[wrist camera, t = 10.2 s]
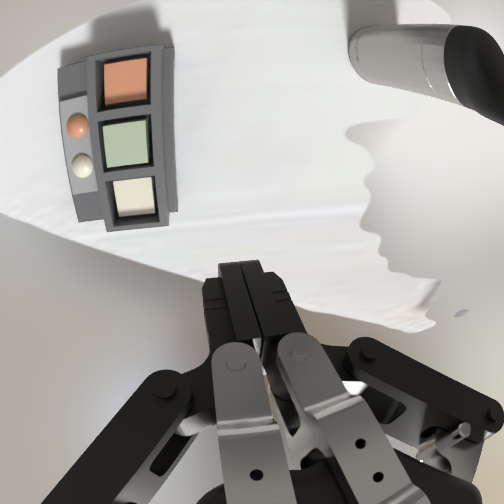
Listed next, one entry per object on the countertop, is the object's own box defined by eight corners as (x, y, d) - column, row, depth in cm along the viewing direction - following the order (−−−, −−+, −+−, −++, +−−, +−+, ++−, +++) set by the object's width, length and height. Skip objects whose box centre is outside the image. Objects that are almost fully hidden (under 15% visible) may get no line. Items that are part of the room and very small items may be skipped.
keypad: (174, 49, 25) (172, 43, 20) (178, 203, 37) (177, 225, 32) (65, 68, 22) (44, 69, 17) (83, 213, 34) (71, 236, 29)
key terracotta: (149, 59, 23) (146, 58, 21) (148, 97, 26) (146, 98, 24) (108, 65, 22) (104, 64, 20) (109, 103, 25) (105, 104, 23)
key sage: (147, 117, 26) (145, 120, 24) (150, 157, 28) (147, 162, 27) (107, 123, 25) (102, 126, 23) (111, 162, 27) (107, 167, 26)
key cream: (152, 171, 31) (151, 177, 29) (156, 205, 33) (155, 213, 32) (116, 175, 30) (113, 181, 28) (121, 209, 32) (119, 216, 31)
